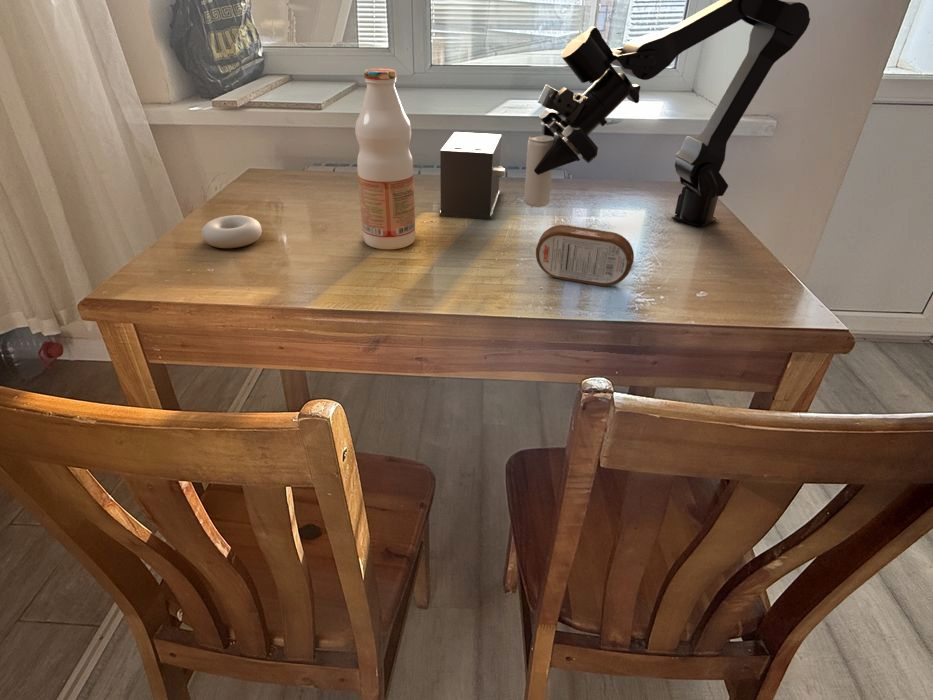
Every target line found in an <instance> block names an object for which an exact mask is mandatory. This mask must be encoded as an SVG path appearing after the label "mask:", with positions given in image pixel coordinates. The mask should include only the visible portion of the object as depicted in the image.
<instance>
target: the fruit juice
mask: <svg viewBox="0 0 933 700" xmlns="http://www.w3.org/2000/svg"><path fill="white" fill-rule="evenodd" d="M363 77H364V82H365V83H366V88H365V89H366V90H365V93H364V97H363V101H362V105H361V109H360V112H359V115H358V116H357V119H356V121H355V125H354V129H355V130H354V133H355V138H356V142H357V144H358V148H359V150H358V153H357V154H358V155H357V158H356V159H357V160H356V161H357V162H356V166H357V167H356V168H357V182H358V193H359V205H360V217H361V219H360V220H361V229H362V237H363V238H362V239H363V241H364V243H365V244H366V245H367V246H369V247H370V248H374V249H377V250H399V249H402V248H406V247H409V246H410V245H412V244H414V241H415V240H416V212H415V211H416V210H415V209H416V208H415V206H416V205H415V182H414V181H415V180H414V179H415V178H414V176H415V175H414V160H413V155H412V153H411V151H410V143H411V138H412V125H411V122H410V119H409V118H408V116H407V114H406V113H405V111H404V108H403V106H402V103H401V99H400V98H399V94H398V92H397V89H396V87H395V83H396V82H397V72H396V70H395V69H393V68H378V67H377V68H366V69H365V70H364V73H363Z"/></svg>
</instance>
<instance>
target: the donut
mask: <svg viewBox="0 0 933 700" xmlns="http://www.w3.org/2000/svg"><path fill="white" fill-rule="evenodd" d="M261 225H262V224H260V222H259V221H258V220H257V219H256V218H253V217H250V216H248V215H247V216H246V215H239V214H237V215H235V214H233V215H225V216H219V217H216V218H214V219H211V220H209V221H208V222H206V224H204V225H203V227H202V229H201V236H202V239H203V240H204V241H205V243H207V244H208V245H209V246H212V247H214V248H218V249H219V248H220V249H238V248H243V247H247V246H248V245H251V244H254V243H255V242H256V241H258V240H259V239H260V237H261V236H262V232H263V231H262V226H261Z"/></svg>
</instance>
